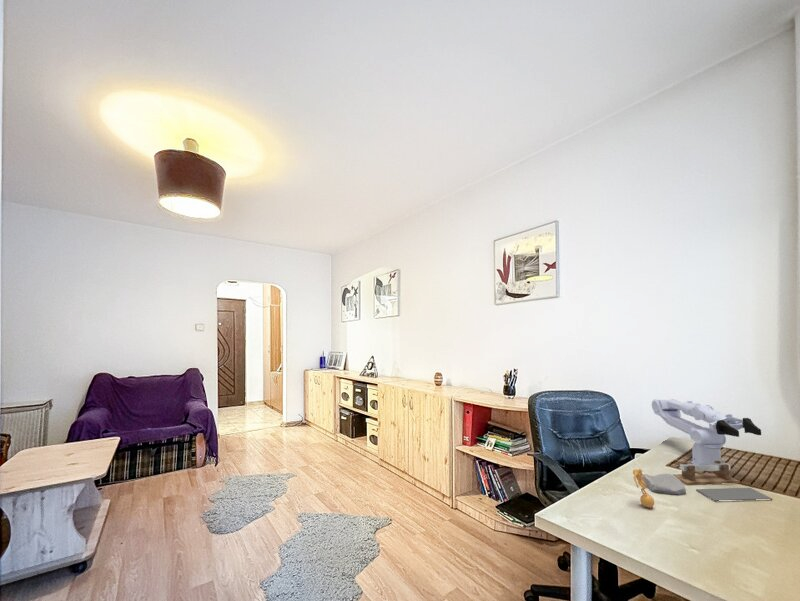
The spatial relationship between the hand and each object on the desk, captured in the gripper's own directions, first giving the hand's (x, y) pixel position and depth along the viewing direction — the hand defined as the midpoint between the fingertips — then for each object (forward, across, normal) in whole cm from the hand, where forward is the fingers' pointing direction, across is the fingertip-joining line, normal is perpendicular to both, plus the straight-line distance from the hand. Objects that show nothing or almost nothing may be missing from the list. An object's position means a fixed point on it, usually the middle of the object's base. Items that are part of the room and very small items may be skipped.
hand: (749, 433), depth 140 cm
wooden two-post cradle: (-7, -12, +20) cm, 24 cm away
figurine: (+12, -45, +17) cm, 50 cm away
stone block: (0, -31, +19) cm, 36 cm away
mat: (+5, -11, +19) cm, 23 cm away
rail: (-7, -11, +16) cm, 21 cm away
